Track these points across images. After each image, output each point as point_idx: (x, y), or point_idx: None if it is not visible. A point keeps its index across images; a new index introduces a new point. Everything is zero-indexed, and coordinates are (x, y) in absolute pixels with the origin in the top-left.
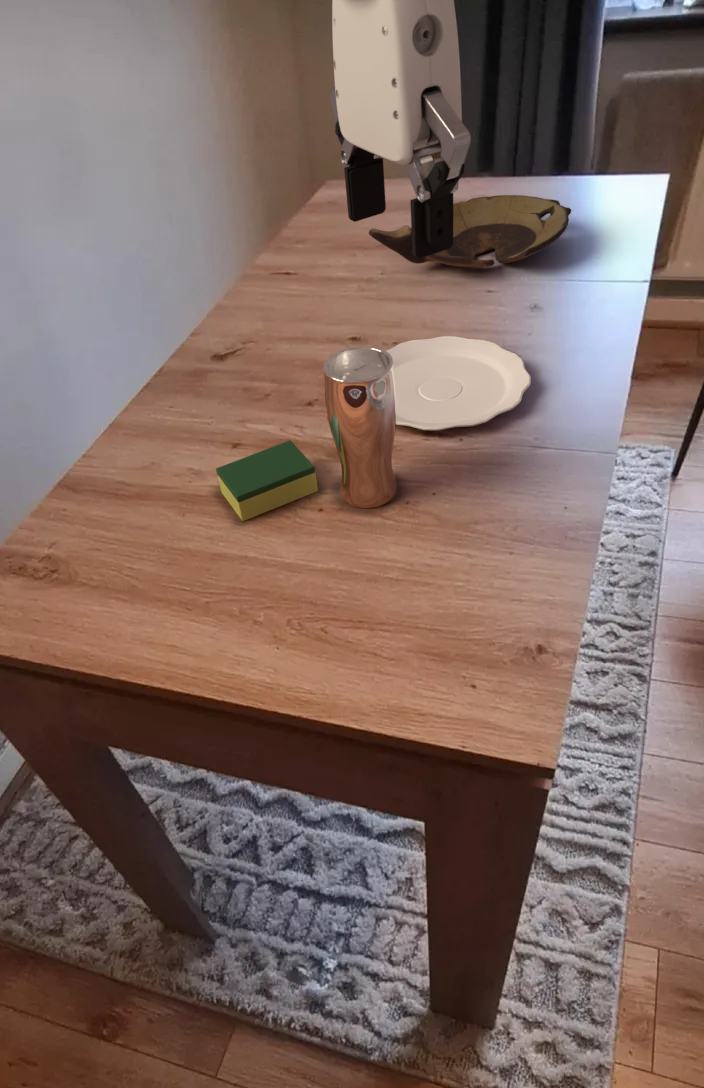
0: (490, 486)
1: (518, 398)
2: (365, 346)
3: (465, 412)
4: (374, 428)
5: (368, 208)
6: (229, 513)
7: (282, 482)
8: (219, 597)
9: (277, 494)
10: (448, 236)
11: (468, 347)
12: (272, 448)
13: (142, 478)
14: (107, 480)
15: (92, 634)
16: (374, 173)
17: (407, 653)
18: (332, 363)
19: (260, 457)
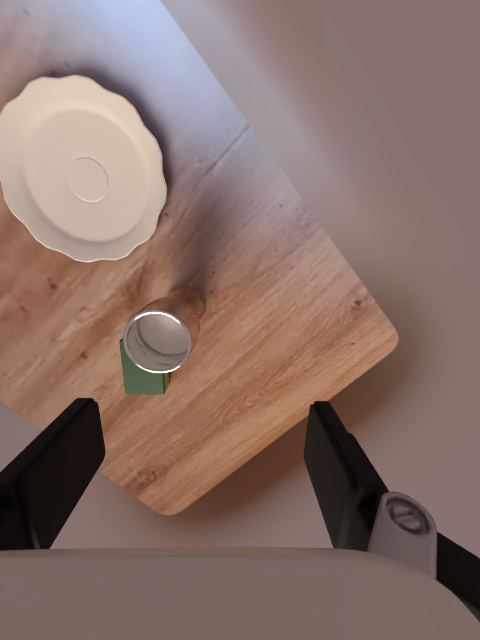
0: (229, 234)
1: (151, 137)
2: (130, 321)
3: (135, 186)
4: (199, 331)
5: (94, 442)
6: None
7: None
8: (222, 414)
9: None
10: (351, 434)
11: (32, 106)
12: (123, 355)
13: None
14: None
15: (210, 468)
16: (47, 483)
17: (315, 357)
18: (132, 352)
19: (129, 366)
